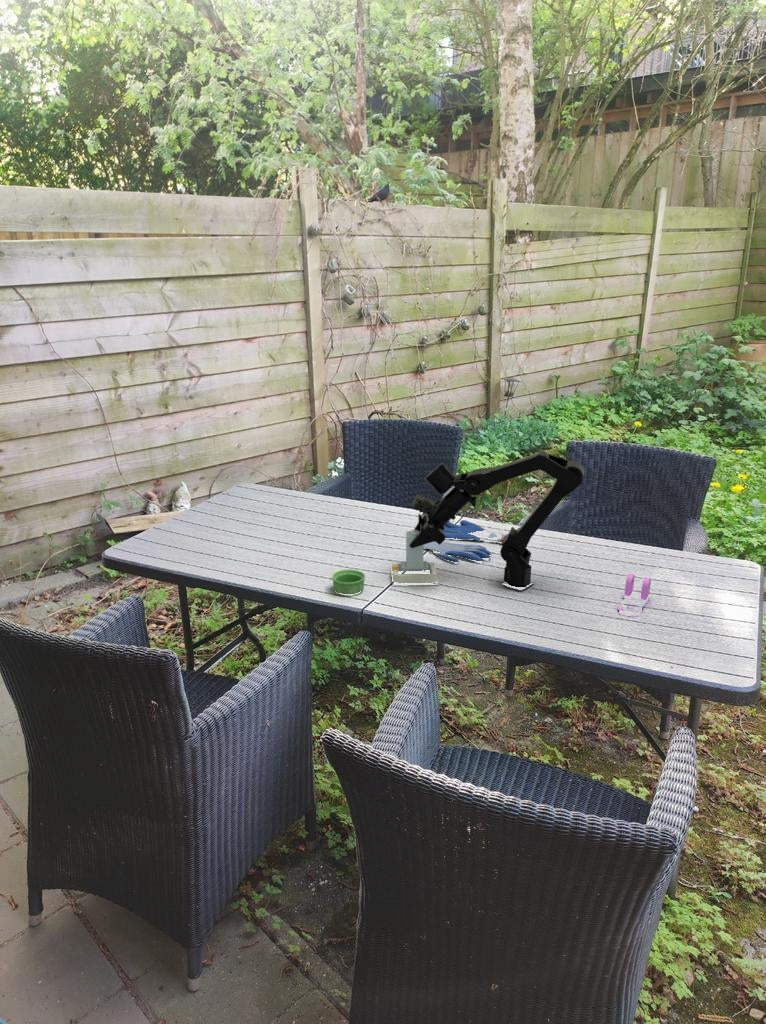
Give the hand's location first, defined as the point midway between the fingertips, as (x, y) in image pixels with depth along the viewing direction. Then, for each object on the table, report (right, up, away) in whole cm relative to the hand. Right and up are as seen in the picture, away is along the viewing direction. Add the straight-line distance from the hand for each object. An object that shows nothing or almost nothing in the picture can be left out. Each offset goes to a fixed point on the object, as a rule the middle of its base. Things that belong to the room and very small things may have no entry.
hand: (409, 543), depth 197 cm
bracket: (+57, -16, -13) cm, 61 cm away
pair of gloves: (+17, -2, +28) cm, 33 cm away
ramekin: (-17, -13, -4) cm, 21 cm away
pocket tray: (+1, -10, +3) cm, 11 cm away
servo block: (+1, -7, +2) cm, 7 cm away
